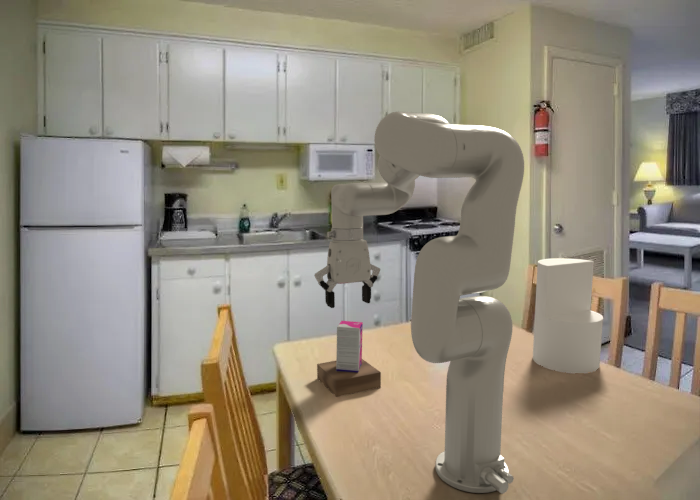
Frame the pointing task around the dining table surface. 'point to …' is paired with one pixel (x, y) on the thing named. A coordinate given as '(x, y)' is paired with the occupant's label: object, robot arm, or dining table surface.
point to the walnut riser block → (348, 378)
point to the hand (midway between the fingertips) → (348, 304)
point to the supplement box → (349, 346)
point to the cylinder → (566, 317)
